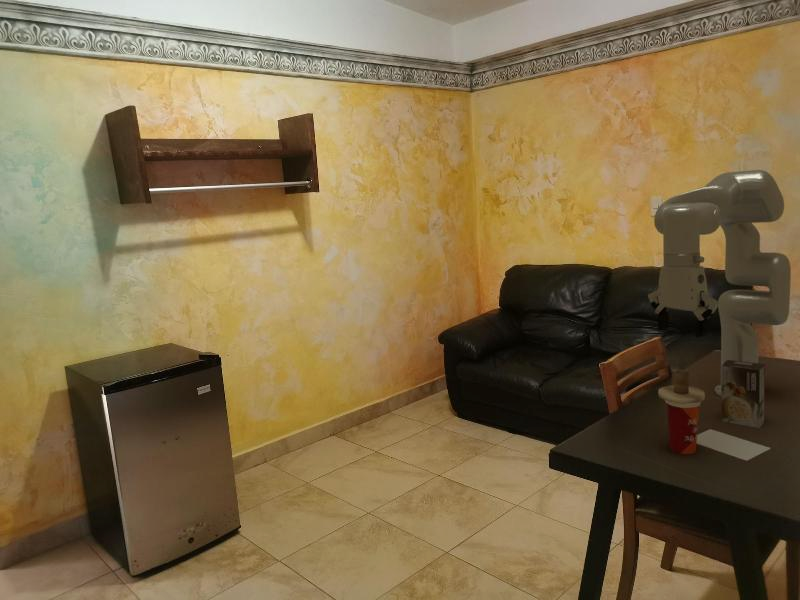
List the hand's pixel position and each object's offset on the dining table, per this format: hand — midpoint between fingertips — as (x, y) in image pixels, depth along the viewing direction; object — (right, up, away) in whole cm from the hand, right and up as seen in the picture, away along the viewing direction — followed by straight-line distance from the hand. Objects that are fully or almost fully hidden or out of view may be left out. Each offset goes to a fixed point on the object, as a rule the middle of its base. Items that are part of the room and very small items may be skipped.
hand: (681, 332), depth 137 cm
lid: (+1, -15, +3) cm, 16 cm away
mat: (+14, -28, +5) cm, 32 cm away
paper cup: (+3, -29, +5) cm, 30 cm away
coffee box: (+25, -25, +18) cm, 39 cm away
